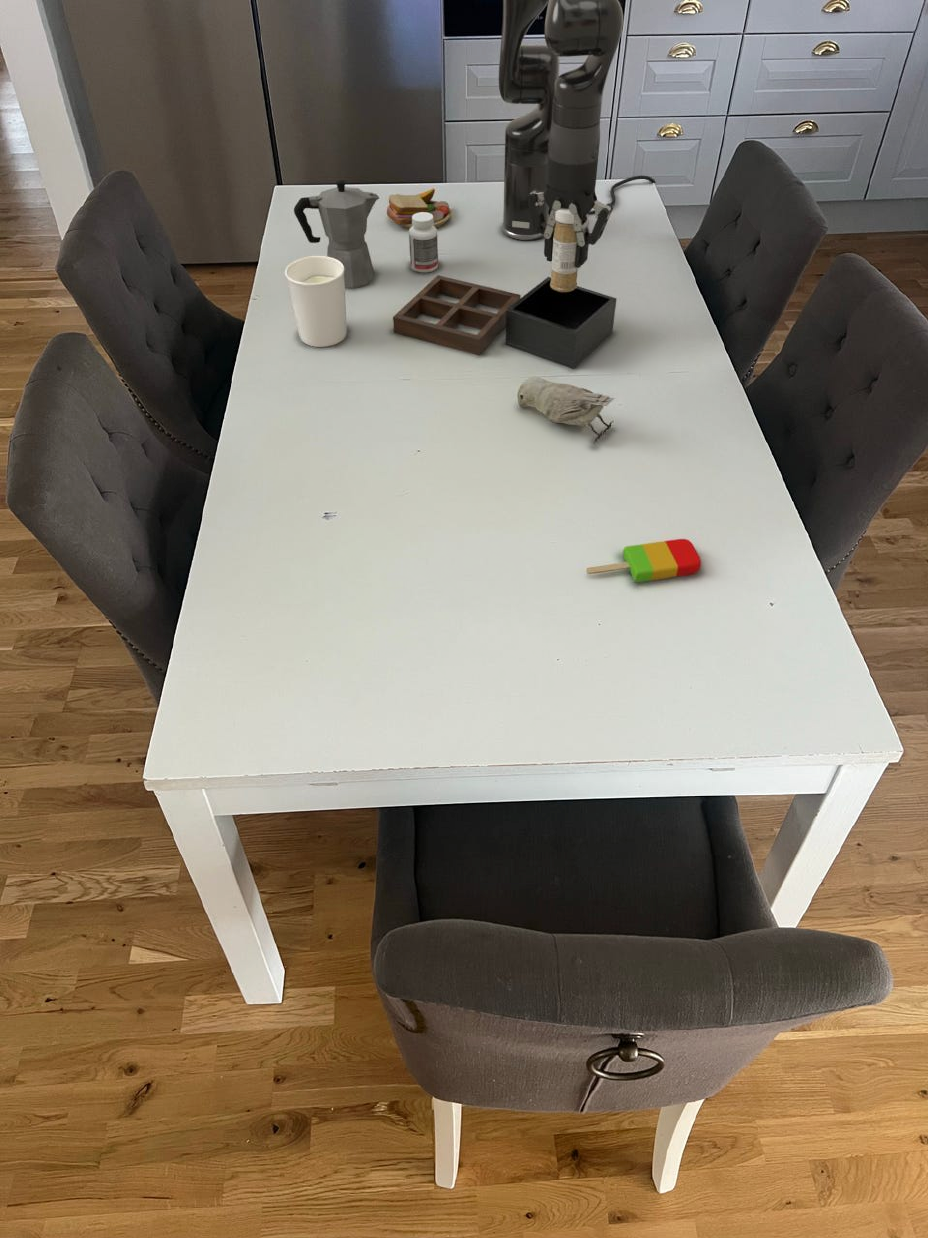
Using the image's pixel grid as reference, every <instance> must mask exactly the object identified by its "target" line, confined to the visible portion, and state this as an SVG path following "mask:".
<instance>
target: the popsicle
mask: <svg viewBox="0 0 928 1238" xmlns="http://www.w3.org/2000/svg"><path fill="white" fill-rule="evenodd" d="M622 557H623V558H624V562H617V563H610V564H604V565H597V566H590V567H587V568H586V573H587V574H588V575H593V574H600V573H601V574H602V573H607V572H616V571H621V570H629V572H630V574H631V577H632V578H633V581H634V583H642V582H649V581H650V582H651V581H656V580H657V581H658V580H662V579H663V580H664V579H671V578H675V577H683V576H691V575H694V574H697V573H698V572H699V571H700V569H701V565H702V560H701V557H700V555H699V553H698V552H697V549H696V548H695V546H694V544H693V542H692V541H691V540H689V539H687V538H677V539H669V540H663V541H655V542H648V543H642V544H636V545H627V546H625V547H624V548H623V550H622Z"/></svg>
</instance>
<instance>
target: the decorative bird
mask: <svg viewBox="0 0 928 1238" xmlns="http://www.w3.org/2000/svg"><path fill="white" fill-rule="evenodd" d="M614 400H615V397H610V396H609V395H604V394H602V393H597V392H596V393H595V392H593V391H591V390H589V389H587V388H584V387H579V386H576V385H572V384H569V383H560V382H553V381H549V380H546V379H544V378H540V377H536V376H535V377H530V378H529V377H528V378H527V379H525V380H524V381H523V382H522V383H521V385H520V386H519V389H518V391H517V403H518V406H519V407H525V406H526V407H527V406H531V407H535V408H536V410H537V411H539V413H541V414H543V415H544V416H545V417H546V418H547V419H548V420H549V421H551V422H552V423H555V424H559V423H562V424H564V425H570V426H577V427H585V426H587V427H589V428H590V429H591V431H592V432H593V433H594V434H595V435H596V436H597V437H596V438H595V439H594V441H593V444H595V443H597V442H598V440H600V439H601V437H602V436H603V435H604V434H606V432H607V431H608V430H610V428H611V427H612V424H613V423H614V421H615V420H612V421H610V422H609V424H608V423H606V422H605V421H604V419H603V417H602V415H601V414H600V413H601V411H602V410H603V409H604V407H608V405H609V404H610V403H611V402H613V401H614ZM596 418H598V419H599V420H600V422H601V423H602V424H603V425H604V426H605V427H606V428H605V429H603V430H601V432H600V433H599V432H597V431H596V430H595V429H594V426H593V425H592V422H593V421H595V419H596Z"/></svg>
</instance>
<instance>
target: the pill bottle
mask: <svg viewBox="0 0 928 1238" xmlns="http://www.w3.org/2000/svg"><path fill="white" fill-rule="evenodd" d="M433 223H434V221H433V215H432V214H430V213H427V212H420V213H416V214H414V215H413V216H412V225H413V226H412V227H411V228H410V229H409V230H408V243H409V247H408V248H409V260H410V261H409V262H410V268H411V269H412V270H413V271H414V272H418V273H426V274H427V273H432V272H434V271H435V270H436V269H437V268H438V267H439V247H438V246H439V245H438V244H439V243H438V230H437V227H436V228H435V227H434V226H433Z"/></svg>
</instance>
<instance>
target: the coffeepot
mask: <svg viewBox="0 0 928 1238" xmlns="http://www.w3.org/2000/svg"><path fill="white" fill-rule="evenodd" d="M335 184H336V187H334V188H329V189H326V190H323V191H321V192H320V193H319V195H312V196H311V195H310V196H307V197H306V196H305V197H300V198H299V200H298V201H297V203H296V204H295V206H294V208H293V213H294V215H295V218H296V219H297V221H298V223H299V225H300V227H301V229H302V231H303V234H304V235H305V237H306V240H307V241H308V243H310V244H317V243H320V242H321V236H314V235H313V230H312V227H311V225H310V224H309V222H308V218H307V215H306V213H305V212H304V211H305V209H312V210H318V212H319V217H320V220H321V224H322V227H323V231H324V234H325V237H327V238H328V245H327V253H326V257H331V258H334V259H337V260H338V261H340V262H341V263H342V264H343V266H344V280H345V289H357V288H360V287H363V286H366V285H368V284H370V283H371V281H372V280H373V279H374V275H375V269H374V266H373V261H372V258H371V254H370V250H369V246H368V243H367V242H366V238H365V236H366V233H367V228H368V218H369V215H370V213H371V212H372V209H373V208H374V206H375V204H376V202H377V201H378V200H379V199H380V196H379V195H378V193H373V192H372V191H371V192H370V191H363V190H362V189H360V188H359V187H347V186H346V180H344V179H337V180H336V181H335Z"/></svg>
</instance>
